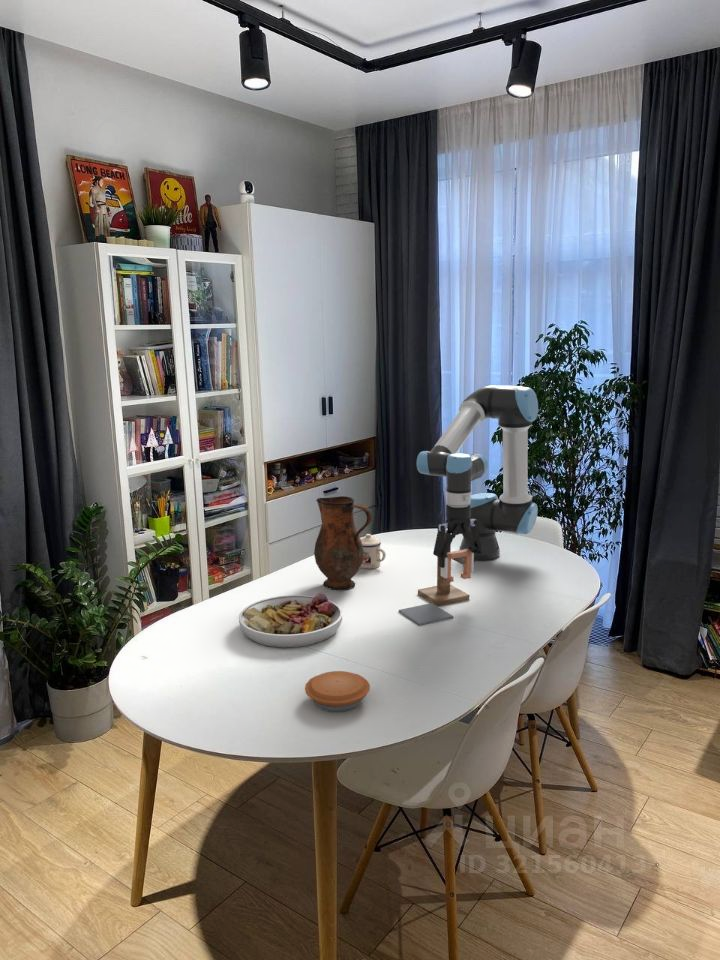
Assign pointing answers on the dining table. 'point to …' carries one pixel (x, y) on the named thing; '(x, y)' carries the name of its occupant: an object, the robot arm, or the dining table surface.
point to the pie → (337, 690)
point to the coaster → (425, 614)
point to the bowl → (291, 620)
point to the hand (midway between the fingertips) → (457, 574)
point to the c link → (466, 566)
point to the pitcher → (339, 542)
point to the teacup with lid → (371, 552)
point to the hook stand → (444, 588)
